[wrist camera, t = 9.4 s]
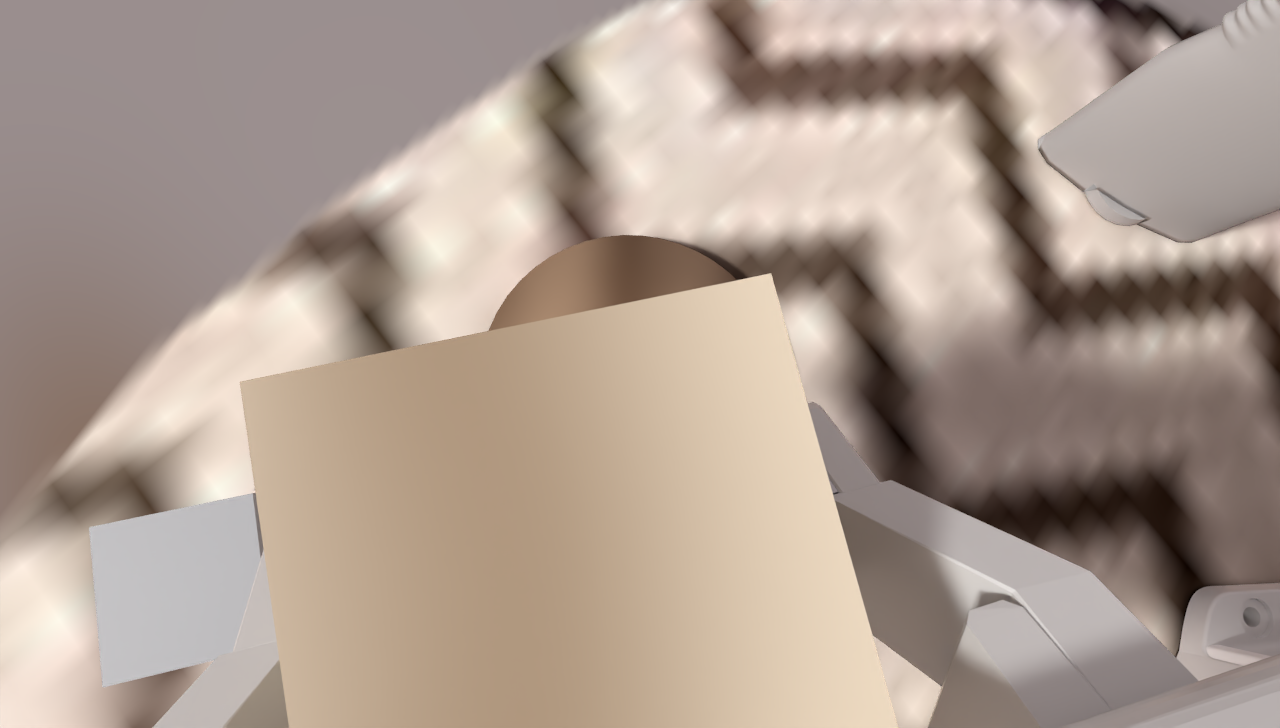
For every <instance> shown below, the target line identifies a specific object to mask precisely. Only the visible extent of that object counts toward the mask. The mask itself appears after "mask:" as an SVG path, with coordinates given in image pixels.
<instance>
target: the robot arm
mask: <svg viewBox="0 0 1280 728" xmlns="http://www.w3.org/2000/svg"><path fill="white" fill-rule="evenodd" d="M807 404H808V407H809V411H810V414H811V418H812V421H813V425H814V429H815V432H816V436H817V439H818V443H819V446H820V450H821V453H822V457H823V461H824V464H825V468H826V471H827V475H828V478H829V482H830V486H831V489H832V493H833V496H834V500H835V503H836V507H837V510H838V514H839V518H840V521H841V525H842V528H843V532H844V535H845V539H846V543H847V546H848V550H849V553H850V557H851V560H852V564H853V567H854V571H855V575H856V578H857V582H858V585H859V589H860V592H861V596H862V600H863V603H864V607H865V610H866V614H867V617H868V621H869V624H870V628H871V632H872V635H874V636H875V637H876V638H878V639H879V640H880V641H882V642H883V643H884V644H886V645H887V646H888V647H890V648H891V649H892V650H894V651H895V652H896V653H898V654H899V655H900V656H902V657H903V658H904V659H906V660H907V661H908V662H910V663H911V664H912V665H914V666H915V667H916V668H918V669H919V670H920V671H922V672H923V673H924V674H926V675H927V676H928V677H930V678H931V679H932V680H934V681H935V682H936V683H938V684H939V685H940V686H942V688H941V691H940V693H939V696H938V699H937V702H936V705H935V708H934V710H933V713H932V716H931V719H930V722H929V725H928V728H1280V583H1265V584H1244V585H1224V586H1208V587H1203V588H1201V589H1199V590H1198V591H1196V592H1195V593H1194V594H1193V596H1192V598H1191V599H1190V602H1189V604H1188V607H1187V610H1186V615H1185V619H1184V624H1183V629H1182V635H1181V642H1180V648H1179V653H1178V655H1177V657H1175V656H1174V655H1173V654H1172V653H1171V652H1170V651H1169V650H1168V649H1167V648H1166V647H1165V646H1164V645H1163V644H1162V643H1161V642H1160V641H1159V640H1158V639H1157V638H1156V637H1155V636H1154V635H1153V634H1152V633H1151V632H1150V631H1149V630H1148V629H1147V628H1146V627H1145V626H1144V625H1143V624H1142V623H1141V622H1140V621H1139V620H1138V619H1137V618H1136V617H1135V616H1134V615H1133V614H1132V613H1131V612H1130V611H1129V610H1128V609H1127V608H1126V607H1125V606H1124V605H1123V604H1122V603H1121V602H1120V601H1119V600H1118V599H1117V598H1116V597H1115V596H1114V595H1113V594H1112V593H1111V592H1110V591H1109V590H1108V589H1107V587H1106V586H1105V585H1104V584H1103V583H1102V582H1101V581H1100V580H1099V579H1098V578H1097V577H1096V576H1095V575H1094V574H1093V573H1092V572H1091V571H1089V570H1087V569H1084V568H1082V567H1080V566H1078V565H1076V564H1073V563H1071V562H1069V561H1067V560H1065V559H1063V558H1060V557H1058V556H1056V555H1054V554H1052V553H1049V552H1047V551H1045V550H1043V549H1041V548H1039V547H1036V546H1034V545H1032V544H1030V543H1028V542H1025V541H1023V540H1021V539H1019V538H1017V537H1015V536H1012V535H1010V534H1008V533H1006V532H1004V531H1001V530H999V529H997V528H995V527H993V526H990V525H988V524H986V523H984V522H982V521H980V520H977V519H975V518H973V517H971V516H969V515H966V514H964V513H962V512H960V511H958V510H956V509H953V508H951V507H949V506H947V505H945V504H942V503H940V502H938V501H936V500H934V499H932V498H929V497H927V496H925V495H923V494H921V493H918V492H916V491H914V490H912V489H910V488H908V487H905V486H903V485H901V484H899V483H897V482H894V481H892V480H889V481H885V482H880V481H879V480H878V479H877V477H876V476H875V475H874V474H873V472H872V471H871V470H870V469H869V467H868V466H867V465H866V463H865V462H864V461H863V460H862V458H861V457H860V456H859V454H858V453H857V452H856V451H855V449H854V448H853V447H852V446H851V444H850V443H849V442H848V440H847V439H846V438H845V437H844V435H843V434H842V433H841V432H840V430H839V429H838V428H837V426H836V425H835V424H834V423H833V421H832V420H831V419H830V417H829V416H828V415H827V414H826V412H825V411H824V410H823V409H822V407H821V406H820V405H818V404H816V403H814V402H811V403H807ZM153 728H289V724H288V717H287V710H286V703H285V696H284V689H283V682H282V675H281V668H280V661H279V654H278V647H277V640H276V633H275V626H274V619H273V612H272V605H271V597H270V590H269V583H268V576H267V569H266V562H265V555H264V550H263V553H262V556H261V560H260V563H259V566H258V570H257V573H256V576H255V580H254V583H253V586H252V589H251V593H250V596H249V599H248V603H247V606H246V609H245V613H244V616H243V619H242V623H241V626H240V629H239V632H238V636H237V639H236V642H235V646H234V649H233V652H230V653H227V654H223V655H220V656H218V657H217V658H216V659H215V660H214V661H213V662H212V663H211V665H210V666H209V667H208V668H207V669H206V670H205V671H204V672H203V673H202V674H201V675H200V677H199V678H198V679H197V680H196V681H195V682H194V683H193V684H192V685H191V686H190V687H189V689H188V690H187V691H186V692H185V693H184V694H183V695H182V696H181V697H180V698H179V699H178V701H177V702H176V703H175V704H174V705H173V706H172V707H171V708H170V709H169V710H168V711H167V713H166V714H165V715H164V716H163V717H162V718H161V719H160V720H159V721H158V722H157V723H156V725H155V726H154V727H153Z"/></svg>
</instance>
